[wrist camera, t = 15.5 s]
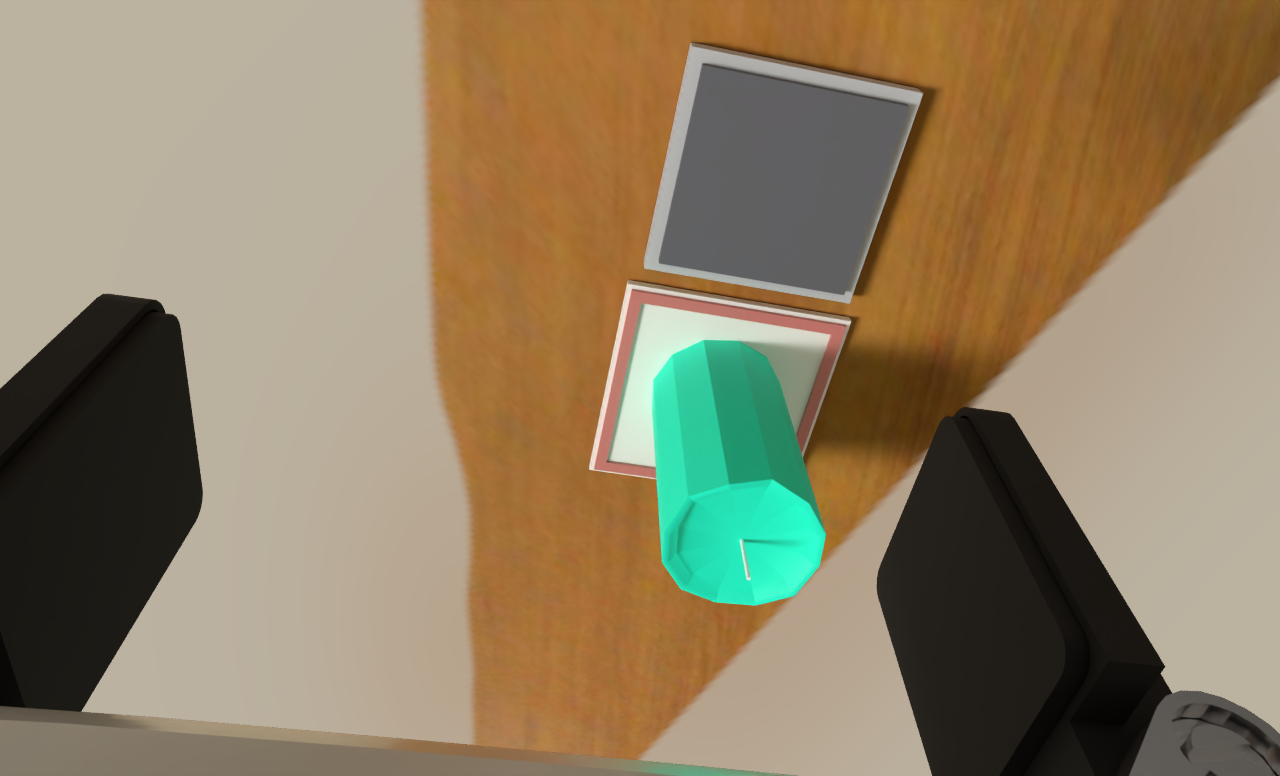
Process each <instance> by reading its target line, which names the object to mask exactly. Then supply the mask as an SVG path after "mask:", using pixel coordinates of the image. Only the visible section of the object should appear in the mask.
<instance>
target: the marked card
mask: <svg viewBox="0 0 1280 776" xmlns="http://www.w3.org/2000/svg"><path fill="white" fill-rule="evenodd" d="M850 324H851V320H850V318H849V317H844V316H839V315H833V314H827V313H821V312H815V311H809V310H803V309H797V308H791V307H785V306H779V305H773V304H768V303H762V302H756V301H750V300H744V299H738V298H732V297H726V296H720V295H714V294H708V293H703V292H697V291H691V290H685V289H679V288H673V287H667V286H661V285H655V284H649V283H643V282H637V281H632V280H628V282H627V287H626V291H625V296H624V301H623V306H622V311H621V316H620V320H619V325H618V330H617V335H616V340H615V345H614V349H613V354H612V359H611V364H610V369H609V374H608V378H607V383H606V388H605V393H604V398H603V403H602V407H601V412H600V417H599V422H598V427H597V432H596V436H595V441H594V446H593V451H592V456H591V461H590V468H589V470H596V471H603V472H610V473H617V474H624V475H631V476H638V477H645V478H652V479H657V478H656V463H655V448H654V433H653V418H652V397H653V380H654V378H655V377H656V376H657V374H658V373H659V372H660V370H661V369H662V368H663V366H664V365H665V364H666V362H667V361H668V359H669V358H670V357H671V355H672V354H674V353H676V352H679V351H681V350H683V349H685V348H687V347H689V346H691V345H694V344H696V343H698V342H700V341H702V340H730V341H740V342H742V343H743V344H745V345H747V346H749V347H750V348H752V349H754V350H756V351H757V352H759V353H761V354H763V355H765V356H766V357H767V359H768V361H769V362H770V364H771V366H772V368H773V370H774V372H775V374H776V376H777V378H778V380H779V382H780V384H781V388H782V391H783V394H784V397H785V401H786V404H787V407H788V411H789V414H790V417H791V421H792V424H793V427H794V431H795V434H796V437H797V440H798V444H799V447H800V450H801V454H802V457H803V456H804V453H805V450H806V447H807V445H808V442H809V439H810V436H811V433H812V431H813V428H814V425H815V422H816V419H817V417H818V414H819V411H820V408H821V405H822V402H823V400H824V397H825V394H826V391H827V388H828V386H829V383H830V380H831V377H832V374H833V372H834V369H835V366H836V363H837V360H838V358H839V355H840V352H841V349H842V346H843V344H844V341H845V338H846V335H847V332H848V329H849V327H850Z"/></svg>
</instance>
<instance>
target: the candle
mask: <svg viewBox="0 0 1280 776" xmlns="http://www.w3.org/2000/svg"><path fill="white" fill-rule="evenodd" d="M652 418H653V433H654V448H655V463H656V478H657V493H658V508H659V523H660V538H661V553H662V563H663V564H664V566H665V567H666V569H667V570H668V572H669V573H670V574H671V576H672V577H673V579H674V580H675V581H676V583H677V584H678V586H679V587H680V589H682V590H685V591H687V592H690V593H692V594H695V595H698V596H700V597H703V598H705V599H708V600H711V601H713V602H720V603H732V604H744V605H760V604H764V603H768V602H772V601H776V600H780V599H784V598H788V597H792V596H795V595H796V594H797V592H798V591H799V590H800V589H801V588H802V586H803V585H804V584H805V583H806V582H807V580H808V579H809V578H810V577H811V576H812V574H813V573H814V572H815V571H816V570H817V568H818V567H819V566H820V561H821V556H822V552H823V547H824V542H825V537H826V533H825V530H824V526H823V523H822V520H821V516H820V513H819V510H818V507H817V503H816V500H815V497H814V493H813V490H812V487H811V483H810V480H809V477H808V473H807V470H806V467H805V464H804V460H803V457H802V454H801V450H800V447H799V444H798V440H797V437H796V434H795V431H794V427H793V424H792V421H791V417H790V414H789V411H788V407H787V404H786V401H785V397H784V394H783V391H782V388H781V384H780V382H779V380H778V378H777V376H776V374H775V372H774V370H773V368H772V366H771V364H770V362H769V361H768V359H767V357H766V356H765V355H763V354H761V353H759V352H757V351H756V350H754V349H752V348H750V347H749V346H747V345H745V344H743V343H742V342H740V341H730V340H702V341H700V342H698V343H696V344H694V345H691V346H689V347H687V348H685V349H683V350H681V351H679V352H676V353H674V354H672V355H671V357H670V358H669V359H668V361H667V362H666V364H665V365H664V366H663V368H662V369H661V370H660V372H659V373H658V374H657V376H656V377H655V378H654V380H653V397H652Z"/></svg>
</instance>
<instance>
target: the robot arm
mask: <svg viewBox="0 0 1280 776" xmlns="http://www.w3.org/2000/svg"><path fill="white" fill-rule="evenodd" d="M202 496H203V490H202V482H201V474H200V467H199V460H198V453H197V445H196V438H195V431H194V423H193V417H192V409H191V401H190V394H189V386H188V379H187V372H186V365H185V357H184V350H183V342H182V335H181V328H180V324H179V321H178V319H177V317H176V316H174V315H172V314H165V310H164V308H163V306H162V304H161V303H160V302H158V301H157V300H151V299H144V298H137V297H129V296H122V295H113V294H102V295H101V296H99V297H98V298H96V299H95V300H94V301H93V302H92V303H91V304H90V305H89V306H88V307H87V308H86V309H85V310H84V311H83V312H81V313H80V314H79V315H78V316H77V317H76V318H75V319H74V320H73V321H72V322H71V323H70V324H69V325H68V326H67V327H65V328H64V329H63V330H62V331H61V332H60V333H59V334H58V335H57V336H56V337H55V338H54V339H53V340H52V341H51V342H50V343H48V344H47V345H46V346H45V347H44V348H43V349H42V350H41V351H40V352H39V353H38V354H37V355H36V356H35V357H34V358H33V359H32V360H30V361H29V362H28V363H27V364H26V365H25V366H24V367H23V368H22V369H21V370H20V371H19V372H18V373H17V374H15V375H14V376H13V377H12V378H11V379H10V380H9V381H8V382H7V383H6V384H5V385H4V386H3V387H2V388H1V389H0V776H795V775H784V774H775V773H764V772H754V771H744V770H734V769H724V768H714V767H703V766H693V765H682V764H671V763H661V762H651V761H640V760H629V759H618V758H608V757H597V756H586V755H576V754H565V753H554V752H543V751H532V750H521V749H510V748H499V747H489V746H478V745H467V744H455V743H444V742H434V741H422V740H412V739H401V738H389V737H378V736H366V735H355V734H343V733H331V732H320V731H308V730H297V729H286V728H274V727H261V726H251V725H240V724H228V723H217V722H205V721H193V720H182V719H169V718H159V717H145V716H132V715H118V714H104V713H90V712H81V711H82V709H83V708H84V706H85V704H86V703H87V701H88V699H89V698H90V696H91V694H92V692H93V691H94V689H95V688H96V686H97V684H98V683H99V681H100V679H101V678H102V676H103V674H104V673H105V671H106V669H107V668H108V666H109V664H110V663H111V661H112V659H113V658H114V656H115V655H116V653H117V651H118V649H119V648H120V646H121V645H122V643H123V641H124V640H125V638H126V636H127V634H128V633H129V631H130V629H131V628H132V626H133V625H134V623H135V621H136V620H137V618H138V616H139V615H140V613H141V611H142V610H143V608H144V606H145V605H146V603H147V601H148V600H149V598H150V596H151V595H152V593H153V591H154V590H155V588H156V586H157V585H158V583H159V581H160V580H161V578H162V577H163V575H164V573H165V572H166V570H167V568H168V566H169V565H170V563H171V562H172V560H173V558H174V556H175V555H176V553H177V552H178V550H179V548H180V547H181V545H182V543H183V541H184V540H185V538H186V536H187V535H188V533H189V532H190V530H191V528H192V527H193V525H194V523H195V522H196V520H197V518H198V515H199V512H200V509H201V504H202ZM877 594H878V598H879V601H880V605H881V608H882V611H883V615H884V618H885V621H886V625H887V628H888V631H889V635H890V637H891V641H892V644H893V648H894V651H895V654H896V657H897V661H898V664H899V668H900V671H901V674H902V677H903V681H904V684H905V687H906V691H907V694H908V697H909V700H910V704H911V707H912V710H913V714H914V717H915V720H916V723H917V727H918V730H919V733H920V737H921V740H922V743H923V747H924V750H925V753H926V756H927V760H928V763H929V766H930V769H931V773H932V776H1280V734H1279V733H1278V732H1277V731H1276V730H1275V729H1274V728H1273V727H1272V726H1271V725H1269V724H1268V723H1266V722H1265V721H1263V720H1262V719H1260V718H1259V717H1258V716H1256V715H1255V714H1253V713H1252V712H1250V711H1248V710H1247V709H1245V708H1243V707H1241V706H1239V705H1237V704H1235V703H1233V702H1231V701H1228V700H1227V699H1225V698H1222V697H1219V696H1215V695H1212V694H1208V693H1204V692H1201V691H1179V692H1176V693H1173V694H1172V692H1171V690H1170V689H1169V687H1168V686H1167V684H1166V682H1165V681H1164V679H1163V677H1162V675H1161V674H1160V673H1161V672H1162V671H1163V669H1164V668H1165V666H1164V664H1163V662H1162V661H1161V659H1160V657H1159V656H1158V654H1157V652H1156V651H1155V649H1154V647H1153V646H1152V644H1151V643H1150V641H1149V639H1148V638H1147V636H1146V634H1145V633H1144V631H1143V629H1142V628H1141V626H1140V625H1139V623H1138V621H1137V620H1136V618H1135V616H1134V615H1133V613H1132V612H1131V610H1130V608H1129V606H1128V605H1127V603H1126V601H1125V600H1124V598H1123V596H1122V595H1121V593H1120V592H1119V590H1118V588H1117V587H1116V585H1115V584H1114V582H1113V580H1112V578H1111V577H1110V575H1109V573H1108V572H1107V570H1106V568H1105V567H1104V565H1103V564H1102V562H1101V560H1100V559H1099V557H1098V555H1097V554H1096V552H1095V550H1094V549H1093V547H1092V545H1091V544H1090V542H1089V541H1088V539H1087V537H1086V536H1085V534H1084V533H1083V531H1082V529H1081V527H1080V526H1079V524H1078V522H1077V521H1076V519H1075V517H1074V516H1073V514H1072V513H1071V511H1070V509H1069V508H1068V506H1067V504H1066V503H1065V501H1064V499H1063V498H1062V496H1061V495H1060V493H1059V491H1058V490H1057V488H1056V486H1055V485H1054V483H1053V481H1052V480H1051V478H1050V476H1049V475H1048V473H1047V472H1046V470H1045V468H1044V467H1043V465H1042V463H1041V462H1040V460H1039V458H1038V457H1037V455H1036V453H1035V452H1034V450H1033V449H1032V447H1031V445H1030V443H1029V442H1028V440H1027V439H1026V437H1025V435H1024V434H1023V432H1022V430H1021V429H1020V427H1019V426H1018V424H1017V422H1016V421H1015V419H1014V418H1013V417H1012V415H1011V414H1009V413H1005V412H998V411H990V410H983V409H976V408H968V407H964V408H961V409H960V410H959V411H958V412H957V413H956V414H955V416H954V417H950V416H947V417H944V419H943V420H942V421H941V422H940V424H939V426H938V428H937V431H936V433H935V435H934V438H933V440H932V443H931V445H930V447H929V450H928V452H927V455H926V457H925V459H924V462H923V464H922V467H921V469H920V471H919V474H918V476H917V479H916V481H915V483H914V486H913V488H912V491H911V493H910V495H909V498H908V500H907V503H906V505H905V507H904V510H903V512H902V515H901V517H900V519H899V522H898V524H897V527H896V529H895V531H894V534H893V536H892V539H891V541H890V543H889V546H888V548H887V551H886V553H885V555H884V558H883V560H882V562H881V565H880V568H879V571H878V577H877Z"/></svg>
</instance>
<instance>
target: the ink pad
mask: <svg viewBox="0 0 1280 776" xmlns="http://www.w3.org/2000/svg"><path fill="white" fill-rule="evenodd" d="M922 96H923V93H922V92H921V91H920V90H919V89H918V88H914V87H909V86H904V85H899V84H894V83H889V82H885V81H880V80H875V79H870V78H865V77H860V76H855V75H850V74H845V73H840V72H835V71H830V70H826V69H821V68H816V67H811V66H806V65H801V64H796V63H791V62H786V61H781V60H776V59H771V58H767V57H762V56H757V55H752V54H747V53H742V52H737V51H732V50H727V49H722V48H717V47H712V46H708V45H703V44H698V43H693V42H691V43H690V47H689V52H688V57H687V61H686V66H685V71H684V75H683V80H682V85H681V89H680V94H679V99H678V103H677V108H676V113H675V117H674V122H673V127H672V131H671V136H670V141H669V145H668V150H667V155H666V159H665V164H664V169H663V173H662V178H661V183H660V187H659V192H658V197H657V201H656V206H655V211H654V215H653V220H652V225H651V229H650V234H649V239H648V243H647V248H646V253H645V257H644V268H645V269H651V270H657V271H662V272H668V273H674V274H680V275H686V276H692V277H697V278H703V279H709V280H715V281H721V282H727V283H733V284H738V285H744V286H750V287H756V288H762V289H768V290H773V291H779V292H785V293H791V294H797V295H803V296H808V297H814V298H820V299H826V300H832V301H838V302H844V303H849V304H850V301H851V298H852V295H853V292H854V290H855V287H856V284H857V281H858V278H859V275H860V272H861V270H862V267H863V264H864V261H865V258H866V255H867V252H868V250H869V247H870V244H871V241H872V238H873V235H874V233H875V230H876V227H877V224H878V221H879V218H880V215H881V213H882V210H883V207H884V204H885V201H886V198H887V195H888V193H889V190H890V187H891V184H892V181H893V178H894V176H895V173H896V170H897V167H898V164H899V161H900V158H901V156H902V153H903V150H904V147H905V144H906V141H907V138H908V136H909V133H910V130H911V127H912V124H913V121H914V119H915V116H916V113H917V110H918V107H919V104H920V101H921V99H922Z"/></svg>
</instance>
